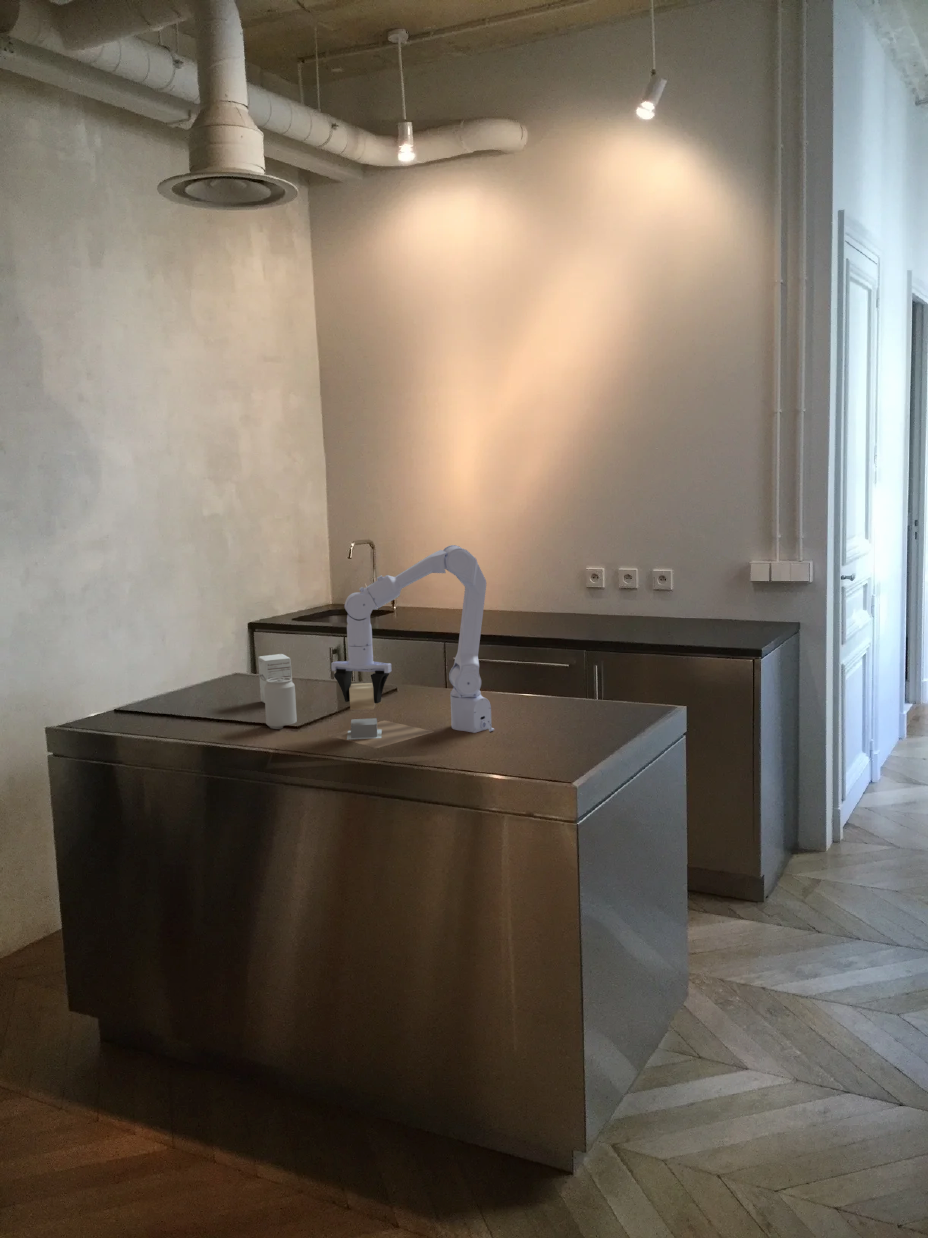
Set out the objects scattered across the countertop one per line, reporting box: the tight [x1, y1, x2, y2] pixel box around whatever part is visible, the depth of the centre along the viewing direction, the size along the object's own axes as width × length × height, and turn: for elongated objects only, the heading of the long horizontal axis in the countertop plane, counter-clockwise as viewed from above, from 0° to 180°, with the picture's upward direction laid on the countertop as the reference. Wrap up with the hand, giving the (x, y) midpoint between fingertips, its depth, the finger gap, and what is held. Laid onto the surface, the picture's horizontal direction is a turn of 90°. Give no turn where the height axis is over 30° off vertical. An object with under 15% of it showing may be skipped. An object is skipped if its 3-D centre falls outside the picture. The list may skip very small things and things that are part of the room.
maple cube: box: [349, 682, 377, 711], centre depth 257 cm, size 6×6×5 cm
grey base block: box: [350, 717, 378, 738], centre depth 258 cm, size 6×6×3 cm
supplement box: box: [257, 653, 293, 704], centre depth 299 cm, size 7×7×13 cm
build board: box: [327, 720, 435, 749], centre depth 259 cm, size 18×18×1 cm
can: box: [264, 677, 298, 730], centre depth 272 cm, size 8×8×12 cm
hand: (362, 701), depth 257 cm, fingers closed on maple cube, 7 cm apart
